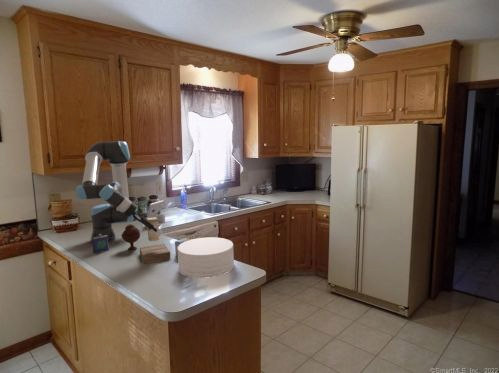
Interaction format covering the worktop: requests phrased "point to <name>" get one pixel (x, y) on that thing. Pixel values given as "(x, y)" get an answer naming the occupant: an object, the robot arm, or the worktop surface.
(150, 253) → the board
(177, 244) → the medicine box
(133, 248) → the ice cream bowl
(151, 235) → the maple block
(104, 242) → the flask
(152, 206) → the phone holder
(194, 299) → the worktop surface
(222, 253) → the plate stack
